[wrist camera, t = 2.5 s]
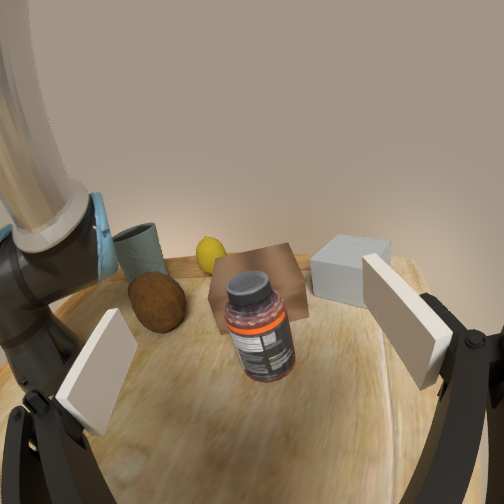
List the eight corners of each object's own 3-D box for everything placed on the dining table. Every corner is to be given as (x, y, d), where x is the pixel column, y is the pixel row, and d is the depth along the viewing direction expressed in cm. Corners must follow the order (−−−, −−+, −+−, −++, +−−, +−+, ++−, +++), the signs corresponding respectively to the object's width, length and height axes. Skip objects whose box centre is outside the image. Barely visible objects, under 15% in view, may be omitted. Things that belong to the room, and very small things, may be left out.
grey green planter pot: (126, 301, 50) (102, 247, 45) (134, 279, 59) (115, 232, 54) (172, 288, 51) (151, 231, 46) (174, 267, 60) (157, 218, 55)
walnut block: (221, 334, 35) (207, 298, 33) (224, 289, 47) (215, 258, 44) (309, 316, 35) (304, 278, 33) (293, 274, 46) (288, 242, 44)
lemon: (198, 281, 51) (185, 243, 48) (213, 267, 56) (202, 231, 52) (221, 283, 49) (209, 243, 45) (236, 268, 53) (226, 230, 50)
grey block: (314, 295, 39) (309, 259, 37) (340, 267, 45) (337, 234, 42) (370, 309, 33) (370, 270, 31) (390, 275, 39) (390, 240, 36)
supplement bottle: (265, 340, 33) (244, 260, 28) (306, 355, 29) (293, 269, 24) (233, 372, 29) (202, 290, 24) (275, 392, 25) (251, 306, 20)
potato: (177, 295, 48) (161, 252, 45) (203, 324, 39) (184, 272, 35) (136, 314, 44) (116, 272, 41) (153, 350, 35) (126, 299, 31)
